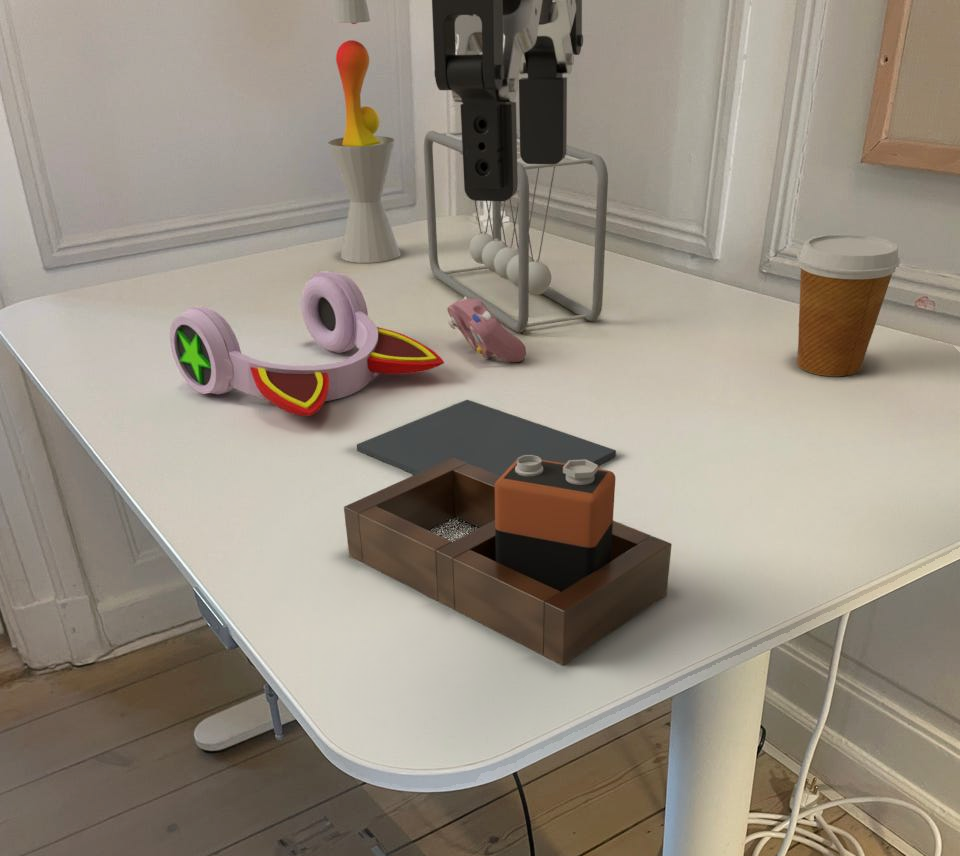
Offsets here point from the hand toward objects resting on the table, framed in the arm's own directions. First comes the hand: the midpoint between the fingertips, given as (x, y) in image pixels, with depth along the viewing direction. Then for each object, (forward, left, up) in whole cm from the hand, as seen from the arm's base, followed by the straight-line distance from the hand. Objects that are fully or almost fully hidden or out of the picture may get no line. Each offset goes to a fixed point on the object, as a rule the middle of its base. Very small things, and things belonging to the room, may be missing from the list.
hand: (519, 179), depth 47 cm
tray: (+7, -6, -27) cm, 29 cm away
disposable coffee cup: (+10, -59, -28) cm, 66 cm away
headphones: (+47, -21, -28) cm, 59 cm away
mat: (+22, -20, -27) cm, 41 cm away
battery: (+3, -6, -28) cm, 28 cm away
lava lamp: (+82, -59, -28) cm, 105 cm away
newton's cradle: (+52, -56, -28) cm, 82 cm away
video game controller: (+40, -39, -28) cm, 63 cm away
